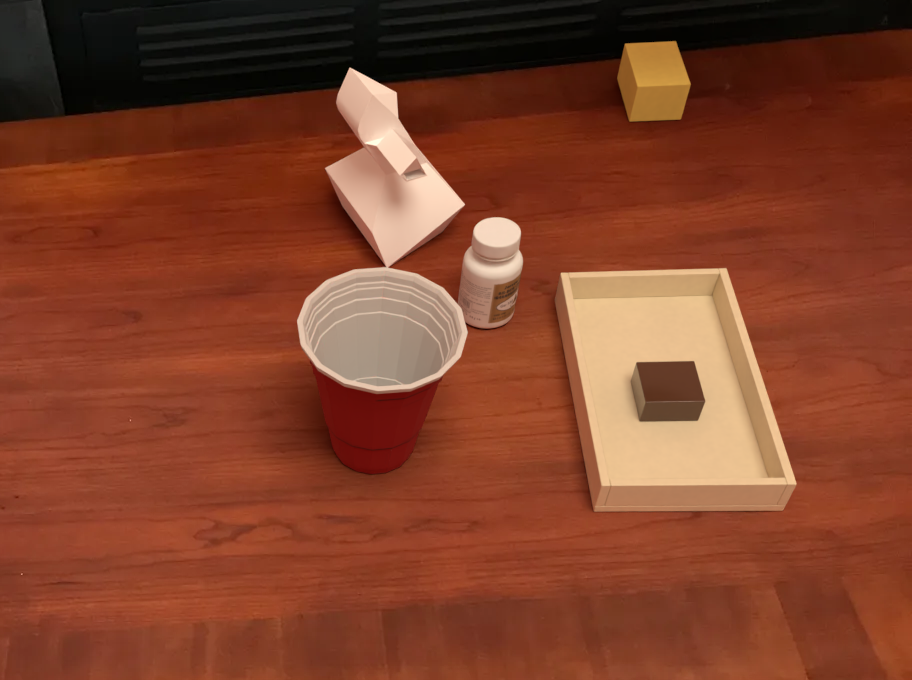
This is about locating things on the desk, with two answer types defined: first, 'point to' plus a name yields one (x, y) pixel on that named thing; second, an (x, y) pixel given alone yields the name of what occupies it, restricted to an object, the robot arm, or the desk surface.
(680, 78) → the yellow rectangular block
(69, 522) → the desk surface
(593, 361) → the tray
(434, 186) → the white faceted sculpture
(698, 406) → the brown flat square block
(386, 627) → the desk surface
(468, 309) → the pill bottle
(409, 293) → the plastic cup
